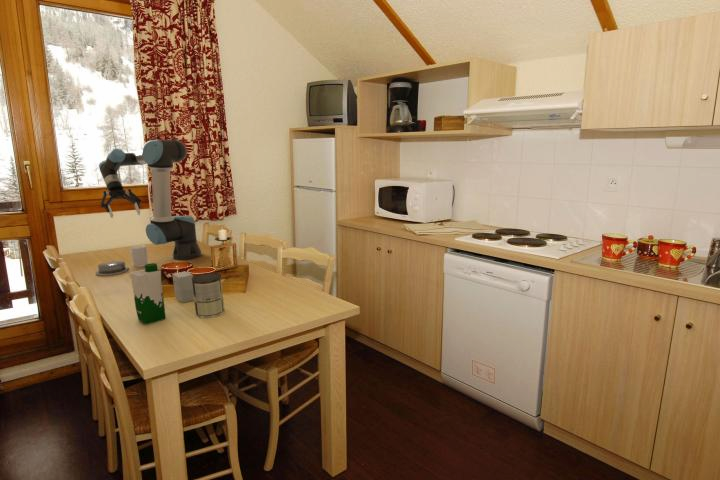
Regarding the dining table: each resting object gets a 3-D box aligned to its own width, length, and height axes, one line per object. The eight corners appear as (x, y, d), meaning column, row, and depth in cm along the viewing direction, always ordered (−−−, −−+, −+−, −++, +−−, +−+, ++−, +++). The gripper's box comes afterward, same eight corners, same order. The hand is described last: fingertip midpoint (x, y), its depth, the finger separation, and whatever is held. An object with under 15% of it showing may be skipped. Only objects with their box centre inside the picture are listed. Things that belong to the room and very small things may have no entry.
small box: (196, 299, 183) (193, 274, 181) (182, 303, 180) (179, 277, 177) (188, 295, 189) (185, 270, 187) (175, 298, 186) (172, 273, 183)
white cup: (151, 263, 243) (149, 245, 241) (143, 267, 235) (140, 248, 233) (137, 263, 244) (135, 245, 242) (129, 267, 236) (126, 248, 234)
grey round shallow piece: (133, 266, 237) (132, 259, 236) (121, 275, 222) (120, 267, 222) (104, 268, 236) (102, 261, 235) (89, 276, 221) (88, 268, 220)
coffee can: (190, 314, 167) (185, 277, 164) (214, 306, 175) (210, 271, 172) (205, 320, 161) (201, 282, 158) (230, 311, 169) (226, 275, 166)
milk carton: (169, 318, 164) (162, 265, 159) (143, 326, 157) (135, 271, 153) (159, 313, 170) (152, 261, 165) (134, 320, 164) (126, 266, 159)
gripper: (136, 187, 262) (148, 216, 254) (87, 191, 245) (99, 222, 238) (138, 178, 257) (151, 207, 249) (89, 182, 240) (101, 213, 233)
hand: (126, 214), depth 244 cm, fingers open, 13 cm apart
